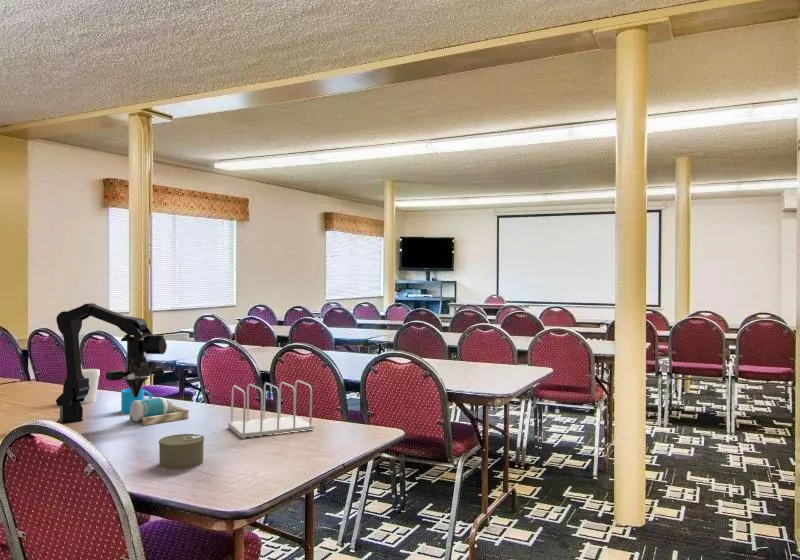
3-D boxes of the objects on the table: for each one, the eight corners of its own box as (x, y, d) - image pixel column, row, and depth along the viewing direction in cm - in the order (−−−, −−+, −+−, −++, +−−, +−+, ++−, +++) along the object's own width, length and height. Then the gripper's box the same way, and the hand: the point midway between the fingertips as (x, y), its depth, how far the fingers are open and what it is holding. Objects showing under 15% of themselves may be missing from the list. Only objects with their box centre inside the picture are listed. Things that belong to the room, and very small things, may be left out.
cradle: (144, 425, 220) (144, 416, 220) (129, 419, 229) (129, 411, 229) (188, 418, 232) (188, 410, 232) (173, 413, 241) (173, 405, 241)
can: (151, 463, 176) (151, 438, 176) (191, 455, 184) (192, 431, 184) (170, 473, 167) (170, 447, 167) (211, 464, 176) (211, 439, 176)
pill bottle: (137, 424, 223) (173, 418, 233) (139, 405, 222) (175, 400, 232) (128, 417, 228) (164, 411, 238) (130, 397, 227) (166, 393, 237)
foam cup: (69, 402, 259) (69, 371, 259) (86, 398, 268) (86, 368, 268) (87, 404, 256) (88, 372, 256) (104, 400, 265) (104, 369, 265)
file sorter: (241, 439, 203) (241, 391, 203) (227, 428, 218) (228, 383, 218) (314, 431, 215) (314, 385, 215) (296, 420, 230) (296, 378, 230)
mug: (127, 414, 239) (127, 392, 239) (117, 411, 244) (117, 390, 244) (157, 409, 248) (157, 388, 248) (146, 406, 253) (146, 386, 253)
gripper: (117, 358, 212) (117, 404, 212) (171, 353, 225) (170, 397, 225) (105, 355, 220) (105, 399, 220) (157, 351, 233) (157, 393, 233)
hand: (135, 397), depth 224 cm, fingers closed
